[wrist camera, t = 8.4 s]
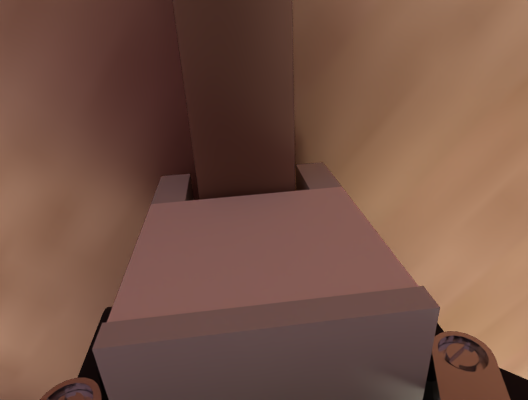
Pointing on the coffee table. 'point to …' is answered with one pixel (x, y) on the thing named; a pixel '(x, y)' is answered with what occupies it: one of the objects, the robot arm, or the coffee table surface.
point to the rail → (239, 94)
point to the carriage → (265, 302)
